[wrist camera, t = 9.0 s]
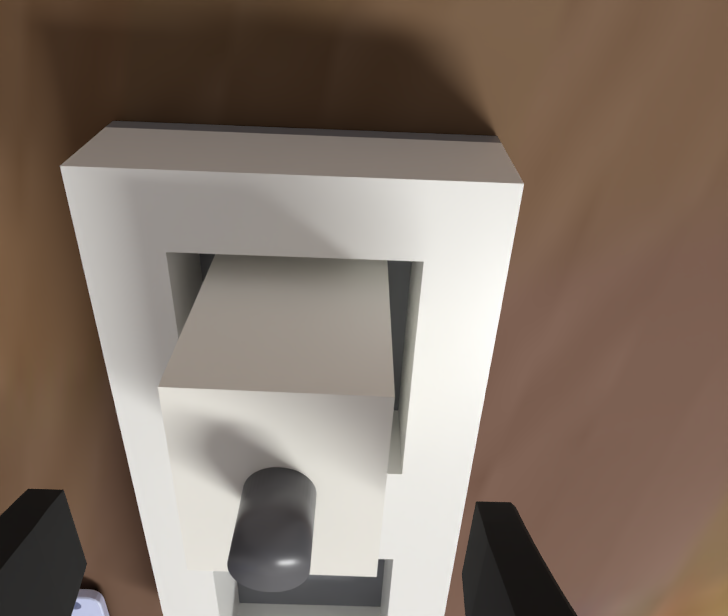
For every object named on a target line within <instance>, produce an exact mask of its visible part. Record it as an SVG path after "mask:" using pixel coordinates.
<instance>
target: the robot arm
mask: <svg viewBox="0 0 728 616" xmlns="http://www.w3.org/2000/svg"><path fill="white" fill-rule="evenodd" d="M86 565H87V563H86V560H85V556H84V553H83V550H82V547H81V544H80V541H79V537H78V534H77V531H76V528H75V525H74V521H73V518H72V515H71V512H70V509H69V506H68V502H67V499H66V496H65V493H64V490H50V489H28V490H27V491H25V492H24V493H23V494H22V495H21V496H20V497H19V498H18V499H17V500H16V501H15V502H14V503H13V504H12V505H11V506H10V507H9V508H8V509H7V510H6V511H5V512H4V513H3V514H2V515H1V516H0V616H109V613H108V610H107V606H106V603H105V600H104V597H103V596H102V594H101V593H99V592H98V591H95V590H91V589H80V586H81V582H82V579H83V575H84V572H85V569H86ZM462 581H463V592H464V604H465V615H466V616H577V615H576V613H575V611H574V610H573V608H572V607H571V605H570V604H569V602H568V600H567V599H566V597H565V596H564V594H563V592H562V591H561V589H560V587H559V586H558V584H557V582H556V581H555V579H554V577H553V576H552V574H551V572H550V570H549V569H548V567H547V565H546V563H545V562H544V560H543V558H542V556H541V555H540V553H539V551H538V549H537V547H536V546H535V544H534V542H533V540H532V538H531V536H530V534H529V533H528V531H527V529H526V527H525V525H524V523H523V521H522V519H521V517H520V515H519V513H518V511H517V509H516V507H515V506H514V505H513V504H512V503H510V502H476V505H475V510H474V515H473V520H472V525H471V530H470V535H469V540H468V545H467V550H466V556H465V561H464V566H463V571H462Z"/></svg>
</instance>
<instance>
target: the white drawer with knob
mask: <svg viewBox="0 0 728 616" xmlns="http://www.w3.org/2000/svg"><path fill="white" fill-rule="evenodd" d="M158 392H159V398H160V404H161V410H162V416H163V423H164V429H165V435H166V441H167V447H168V454H169V460H170V466H171V472H172V478H173V485H174V491H175V497H176V503H177V510H178V516H179V522H180V528H181V534H182V541H183V547H184V553H185V559H186V565H187V570H197V571H224V572H229V573H230V574H231V576H232V577H233V578H234V579H235V580H236V581H237V582H239V583H240V584H242V585H244V586H245V587H248V588H250V589H253V590H257V591H263V592H282V591H287V590H290V589H293V588H296V587H298V586H299V585H301V584H302V583H303V582H304V581H305V580H306V579H307V578H308V576H309V575H335V576H363V577H377V567H378V558H379V548H380V538H381V528H382V518H383V509H384V499H385V489H386V479H387V470H388V460H389V450H390V440H391V431H392V421H393V411H394V401H395V390H394V371H393V353H392V335H391V317H390V299H389V281H388V263H387V260H366V259H339V258H311V257H284V256H257V255H229V254H215V256H214V258H213V261H212V263H211V265H210V268H209V270H208V272H207V275H206V277H205V279H204V282H203V284H202V286H201V288H200V291H199V293H198V295H197V298H196V300H195V302H194V305H193V307H192V309H191V311H190V314H189V316H188V318H187V321H186V323H185V325H184V328H183V330H182V332H181V335H180V337H179V339H178V341H177V344H176V346H175V348H174V351H173V353H172V355H171V358H170V360H169V362H168V364H167V367H166V369H165V371H164V374H163V376H162V378H161V381H160V383H159V385H158Z"/></svg>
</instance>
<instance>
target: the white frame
mask: <svg viewBox="0 0 728 616" xmlns="http://www.w3.org/2000/svg"><path fill="white" fill-rule="evenodd" d="M60 169H61V173H62V177H63V182H64V186H65V190H66V195H67V199H68V203H69V208H70V212H71V216H72V221H73V225H74V229H75V234H76V238H77V242H78V247H79V251H80V256H81V260H82V264H83V269H84V273H85V277H86V282H87V286H88V290H89V295H90V299H91V303H92V308H93V312H94V316H95V321H96V325H97V329H98V334H99V338H100V342H101V347H102V351H103V355H104V360H105V364H106V369H107V373H108V377H109V382H110V386H111V390H112V395H113V399H114V403H115V408H116V412H117V416H118V421H119V425H120V429H121V434H122V438H123V442H124V447H125V451H126V455H127V460H128V464H129V468H130V473H131V477H132V482H133V486H134V490H135V495H136V499H137V503H138V508H139V512H140V516H141V521H142V525H143V529H144V534H145V538H146V542H147V547H148V551H149V555H150V560H151V564H152V568H153V573H154V577H155V582H156V586H157V590H158V595H159V599H160V603H161V608H162V612H163V616H444V613H445V608H446V602H447V597H448V591H449V586H450V581H451V575H452V570H453V564H454V559H455V554H456V548H457V543H458V537H459V532H460V527H461V521H462V516H463V510H464V505H465V500H466V494H467V489H468V483H469V478H470V473H471V467H472V462H473V456H474V451H475V445H476V440H477V435H478V429H479V424H480V418H481V413H482V408H483V402H484V397H485V391H486V386H487V381H488V375H489V370H490V364H491V359H492V354H493V348H494V343H495V337H496V332H497V327H498V321H499V316H500V310H501V305H502V300H503V294H504V289H505V283H506V278H507V273H508V267H509V262H510V256H511V251H512V246H513V240H514V235H515V229H516V224H517V219H518V213H519V208H520V202H521V197H522V191H523V186H524V183H523V181H522V179H521V178H520V176H519V174H518V172H517V170H516V169H515V167H514V165H513V163H512V161H511V160H510V158H509V156H508V154H507V153H506V151H505V149H504V147H503V145H502V144H501V142H500V140H499V138H498V136H482V135H457V134H432V133H407V132H382V131H357V130H332V129H306V128H281V127H256V126H231V125H206V124H181V123H156V122H130V121H112V122H111V123H110V124H108V125H107V126H106V127H105V128H104V129H103V130H101V131H100V132H99V133H98V134H97V135H95V136H94V137H93V138H92V139H91V140H90V141H88V142H87V143H86V144H85V145H84V146H83V147H81V148H80V149H79V150H78V151H77V152H76V153H74V154H73V155H72V156H71V157H70V158H69V159H67V160H66V161H65V162H64V163H63V164H62V165H60ZM215 254H229V255H257V256H284V257H311V258H339V259H366V260H387V263H388V281H389V299H390V317H391V335H392V353H393V371H394V390H395V401H394V411H393V421H392V431H391V440H390V450H389V460H388V470H387V479H386V489H385V499H384V509H383V518H382V528H381V538H380V548H379V558H378V567H377V577H363V576H335V575H309V576H308V578H307V579H306V580H305V581H304V582H303V583H302V584H301V585H299V586H298V587H296V588H293V589H290V590H287V591H282V592H263V591H257V590H253V589H250V588H248V587H245V586H244V585H242V584H240V583H239V582H237V581H236V580H235V579H234V578H233V577H232V576H231V574H230V573H229V572H224V571H197V570H187V565H186V559H185V553H184V547H183V541H182V534H181V528H180V522H179V516H178V510H177V503H176V497H175V491H174V485H173V478H172V472H171V466H170V460H169V454H168V447H167V441H166V435H165V429H164V423H163V416H162V410H161V404H160V398H159V392H158V385H159V383H160V381H161V378H162V376H163V374H164V371H165V369H166V367H167V364H168V362H169V360H170V358H171V355H172V353H173V351H174V348H175V346H176V344H177V341H178V339H179V337H180V335H181V332H182V330H183V328H184V325H185V323H186V321H187V318H188V316H189V314H190V311H191V309H192V307H193V305H194V302H195V300H196V298H197V295H198V293H199V291H200V288H201V286H202V284H203V282H204V279H205V277H206V275H207V272H208V270H209V268H210V265H211V263H212V261H213V258H214V256H215Z"/></svg>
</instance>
